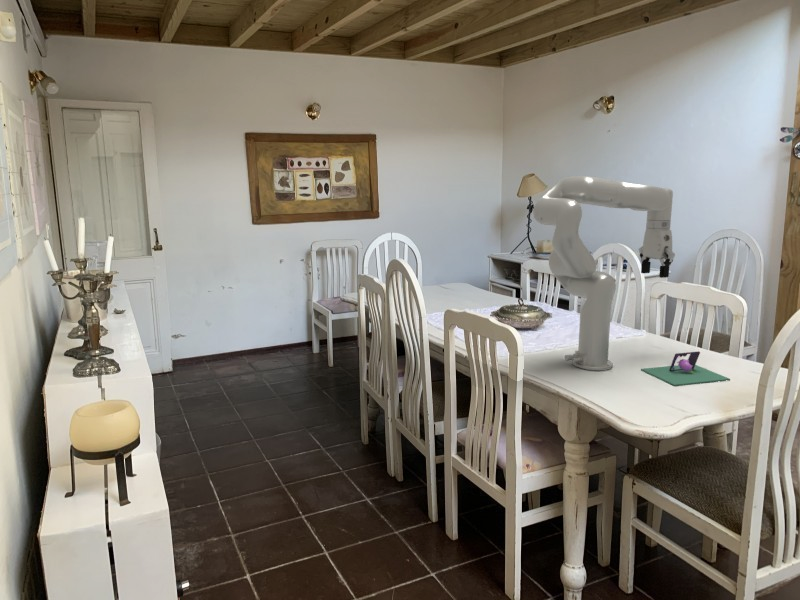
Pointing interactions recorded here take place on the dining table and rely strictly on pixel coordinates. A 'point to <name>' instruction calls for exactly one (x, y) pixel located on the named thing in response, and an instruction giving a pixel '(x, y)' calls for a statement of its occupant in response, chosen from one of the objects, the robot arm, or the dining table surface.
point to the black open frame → (685, 361)
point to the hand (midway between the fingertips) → (654, 275)
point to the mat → (684, 375)
